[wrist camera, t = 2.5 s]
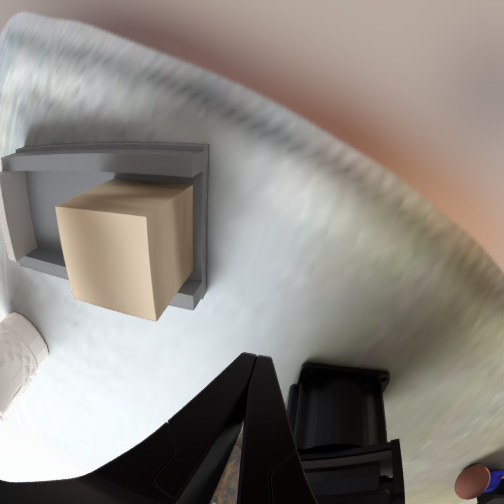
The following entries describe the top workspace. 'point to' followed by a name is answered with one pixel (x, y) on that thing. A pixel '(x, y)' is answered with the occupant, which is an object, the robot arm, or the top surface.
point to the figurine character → (481, 485)
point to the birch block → (128, 244)
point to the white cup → (18, 358)
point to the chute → (87, 177)
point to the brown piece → (228, 480)
